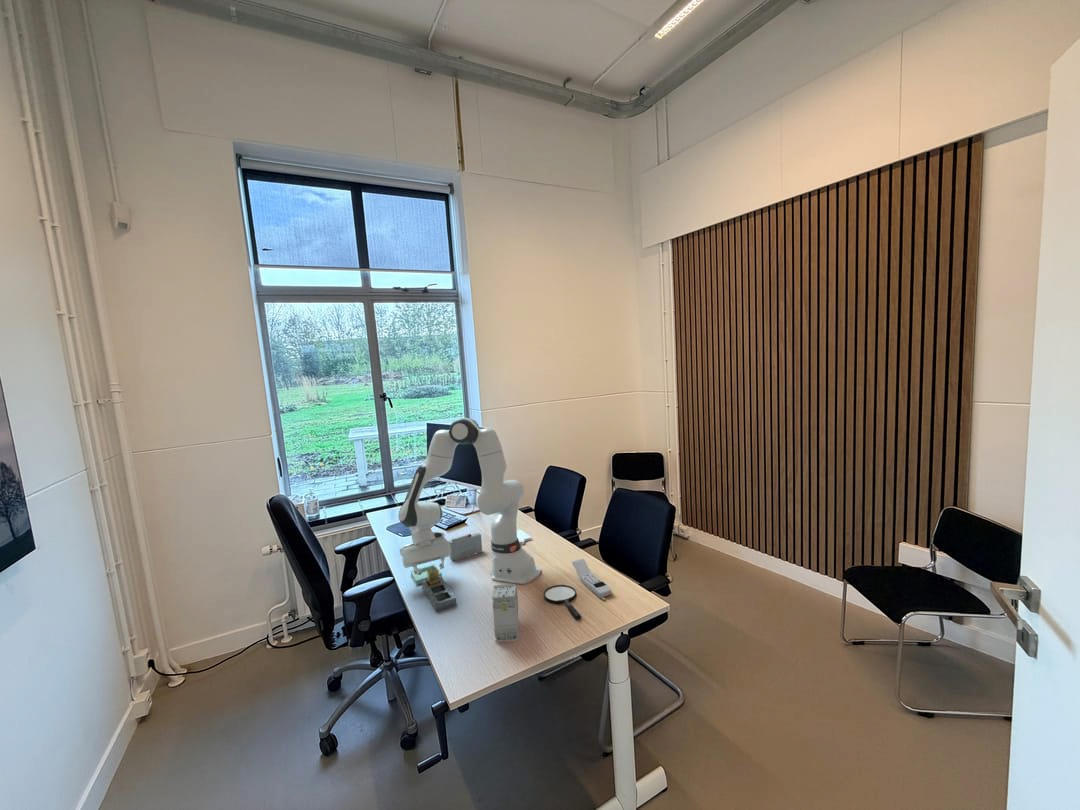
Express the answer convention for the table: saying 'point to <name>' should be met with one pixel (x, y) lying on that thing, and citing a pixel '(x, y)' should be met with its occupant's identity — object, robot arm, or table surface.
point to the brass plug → (432, 576)
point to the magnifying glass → (562, 597)
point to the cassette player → (465, 546)
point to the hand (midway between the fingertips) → (431, 571)
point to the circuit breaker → (505, 612)
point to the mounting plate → (523, 536)
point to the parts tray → (423, 576)
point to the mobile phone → (591, 580)
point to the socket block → (439, 595)
